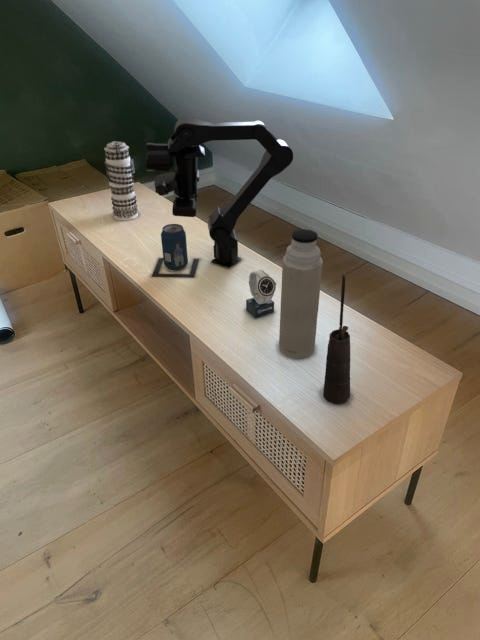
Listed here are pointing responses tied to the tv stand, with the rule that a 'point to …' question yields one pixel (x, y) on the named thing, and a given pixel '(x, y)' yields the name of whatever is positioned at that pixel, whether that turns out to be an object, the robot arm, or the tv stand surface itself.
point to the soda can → (174, 247)
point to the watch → (260, 294)
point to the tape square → (158, 266)
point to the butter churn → (338, 362)
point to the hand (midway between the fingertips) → (186, 215)
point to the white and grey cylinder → (121, 180)
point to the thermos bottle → (300, 295)
